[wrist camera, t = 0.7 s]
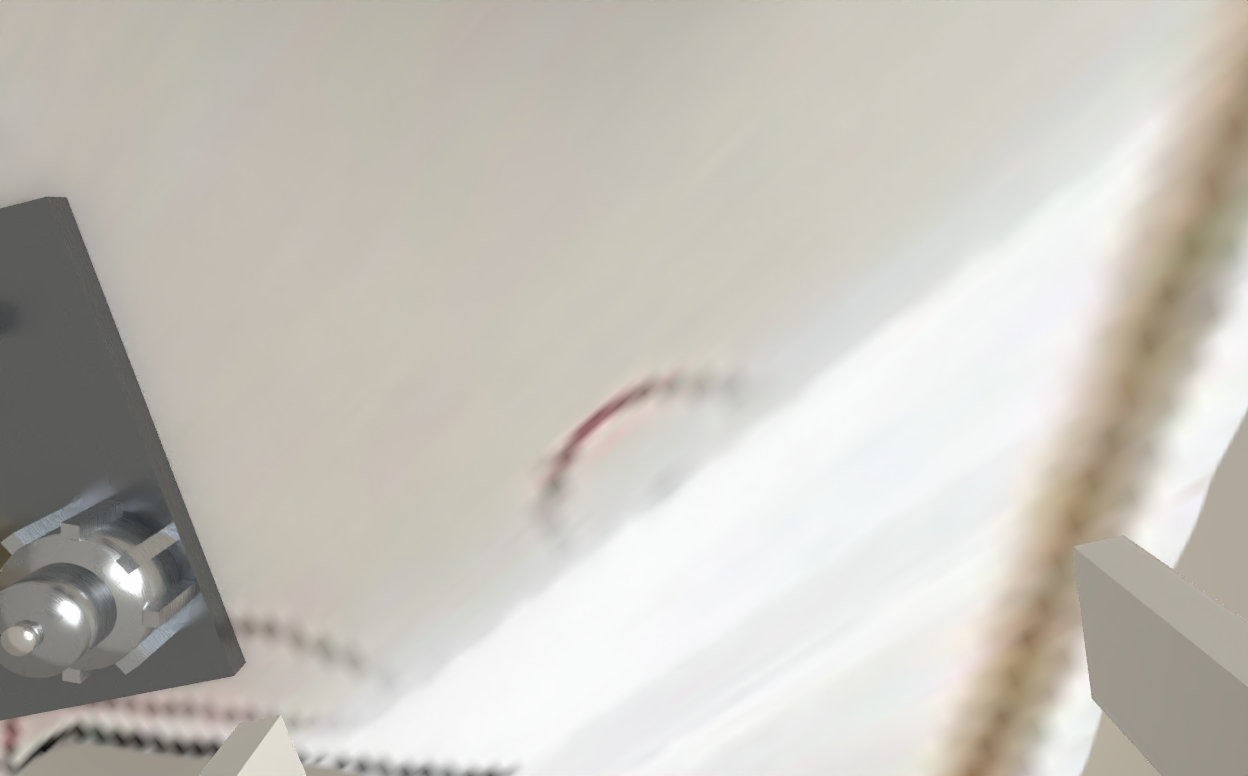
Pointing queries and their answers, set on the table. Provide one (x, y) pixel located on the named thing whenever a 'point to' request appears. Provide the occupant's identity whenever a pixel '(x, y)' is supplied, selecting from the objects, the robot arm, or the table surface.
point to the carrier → (87, 497)
